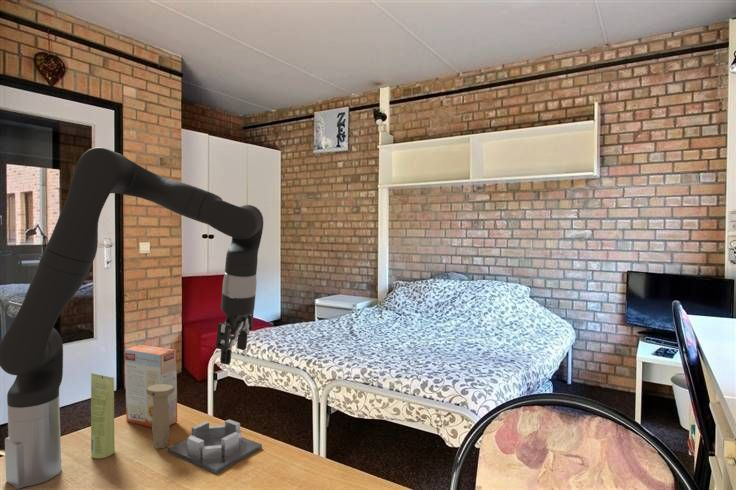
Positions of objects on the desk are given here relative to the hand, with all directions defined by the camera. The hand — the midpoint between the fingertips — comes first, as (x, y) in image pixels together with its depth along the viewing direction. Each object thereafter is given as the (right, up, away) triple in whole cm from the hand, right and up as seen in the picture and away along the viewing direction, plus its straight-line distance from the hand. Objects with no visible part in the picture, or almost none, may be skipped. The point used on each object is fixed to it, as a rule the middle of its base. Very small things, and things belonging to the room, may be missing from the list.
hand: (233, 356), depth 109 cm
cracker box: (-29, -24, +20) cm, 42 cm away
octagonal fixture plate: (-6, -24, +4) cm, 25 cm away
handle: (-20, -24, +6) cm, 32 cm away
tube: (-32, -24, +2) cm, 40 cm away
